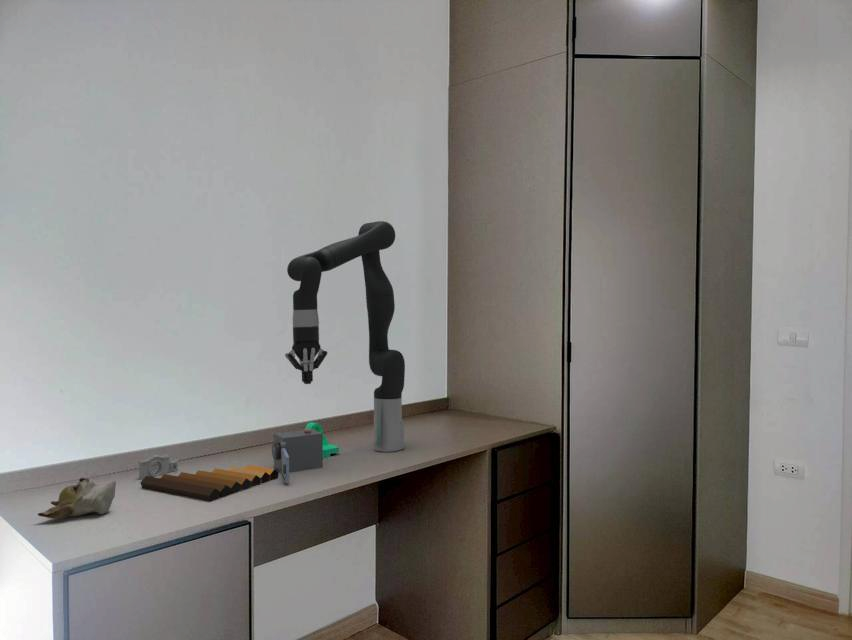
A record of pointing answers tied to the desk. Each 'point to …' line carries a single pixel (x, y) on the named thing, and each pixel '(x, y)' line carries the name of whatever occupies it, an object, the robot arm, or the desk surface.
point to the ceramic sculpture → (82, 499)
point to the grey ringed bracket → (161, 462)
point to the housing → (299, 449)
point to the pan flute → (211, 482)
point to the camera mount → (327, 447)
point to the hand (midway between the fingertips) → (307, 383)
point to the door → (285, 464)
